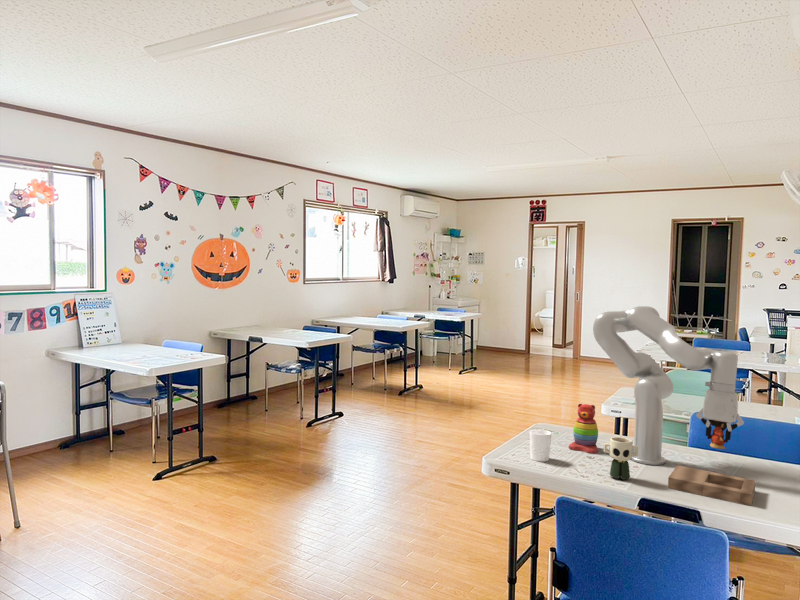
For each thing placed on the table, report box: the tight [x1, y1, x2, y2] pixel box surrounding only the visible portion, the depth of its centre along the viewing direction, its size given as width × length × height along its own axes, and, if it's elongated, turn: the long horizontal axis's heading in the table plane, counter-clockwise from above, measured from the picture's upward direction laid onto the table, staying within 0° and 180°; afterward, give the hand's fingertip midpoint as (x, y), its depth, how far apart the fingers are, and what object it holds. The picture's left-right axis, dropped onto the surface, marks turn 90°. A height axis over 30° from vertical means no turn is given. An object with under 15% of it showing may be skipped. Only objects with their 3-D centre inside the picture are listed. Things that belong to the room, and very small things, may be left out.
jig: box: [667, 465, 756, 507], centre depth 183 cm, size 23×16×4 cm
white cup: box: [529, 429, 552, 462], centre depth 210 cm, size 8×8×10 cm
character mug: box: [603, 436, 638, 480], centre depth 192 cm, size 11×7×13 cm, turn 72°
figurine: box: [709, 420, 727, 450], centre depth 195 cm, size 6×6×12 cm
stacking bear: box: [568, 403, 599, 455], centre depth 225 cm, size 11×10×18 cm
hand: (717, 439), depth 196 cm, fingers closed on figurine, 4 cm apart
